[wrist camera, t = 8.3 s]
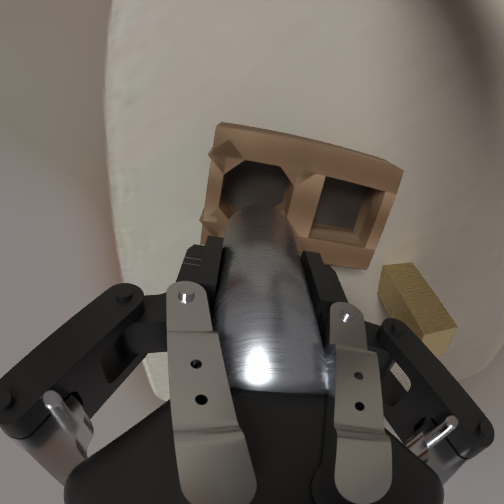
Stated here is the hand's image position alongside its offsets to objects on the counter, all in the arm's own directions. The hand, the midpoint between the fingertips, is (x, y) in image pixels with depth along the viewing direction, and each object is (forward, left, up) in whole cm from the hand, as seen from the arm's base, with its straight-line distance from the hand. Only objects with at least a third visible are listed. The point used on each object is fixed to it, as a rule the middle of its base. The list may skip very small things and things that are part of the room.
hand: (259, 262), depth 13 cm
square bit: (+7, +17, -12) cm, 22 cm away
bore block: (0, +4, -12) cm, 12 cm away
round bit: (0, 0, -3) cm, 3 cm away
